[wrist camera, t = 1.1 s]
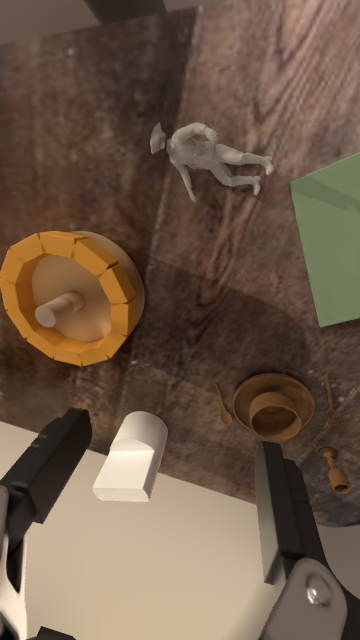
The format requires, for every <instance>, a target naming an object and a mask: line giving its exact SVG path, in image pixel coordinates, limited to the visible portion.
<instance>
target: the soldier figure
mask: <svg viewBox="0 0 360 640" xmlns="http://www.w3.org/2000/svg"><path fill="white" fill-rule="evenodd" d="M195 134H199V135H206V136H207V138H208V140H209V141H202V140H197V139H196V140H195V139H193V138H192V136H194V135H195ZM215 134H216V135H217V136H219V135H218V134H217V133H216V132H215V131H214V130H213V129H211V128H210V126H208V125H204V124H201V123H193V124H190V125H188V126H186V127H183V128H181V129H178V130H177V131H175V133H174V135H173V137H172V139H169V140H166V141H167V147H166V150H167V153H168V154H169V155H170V162H172V164H173V165H174V166H175V167H176V168H177V169H178V170H179V172H180V173H181V175H182V178H183V180H184V182H185V185H186V188H187V190H188V192H189V195H190V197H191V199H192V200H193V201H194V202H197V200H196V199H197V197H196V196H195V195H194V194H193V191H192V183H191V178H190V175H189V172H188V169H187V167H186V165H189V167H190V168H192V169H197V168H200V169H201V168H202V169H210V170H211V171H212V173H213V174H214V175H215V177H216V178H217V179H218V180H219V181H220V182H221V183H222V184H223V185H226V186H227V185H228V186H231V187H235V186H239V185H246V184H252V186H253V188H254V194H255V195H257V194H258V193H259V191H260V185H259V181H260V176H253V177H251V176H237V175H236V176H232V173H231V172H230V170H229V168H228V167H227V166H226V165H225V163H228V164H232V165H244V164H245V163H246V164H261V165H263V167H264V168H265V170H266V174H267V175H268V176H269V175H270V174H271V172H272V170H273V166H272V165H271V161H272V157H269V156H266V157H262V156H258V155H254V154H251V153H245V154H243V152H241V151H238V150H235V149H233V148H230V147H228V146H225V145H222V144H216V142H215V141H217V140H216V139H218V137H217V136H216V135H215ZM166 135H167V134H165V133H163V132H162V130H161V126H160V122H159V123H158V124H157V125H156V127H155V128H154V130H153V132H152V135H151V141H150V144H151V152H152V154H154V153H155V152H158V151H159V150H160V149H164V147H165V143H166V142H165V136H166ZM213 136H214V137H215V138H216V139H215V138H214V137H213ZM167 137H168V136H167ZM167 137H166V138H167ZM211 137H212V138H213V139H214V140H215V141H214V140H213V139H212V138H211ZM164 142H165V143H164ZM194 197H195V198H196V199H195V198H194ZM195 200H196V201H195Z"/></svg>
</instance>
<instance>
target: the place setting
mask: <svg viewBox="0 0 360 640" xmlns="http://www.w3.org/2000/svg"><path fill="white" fill-rule="evenodd" d="M325 383H326V390H327V397H328V403H329V409H328V410H327V417H328V422H329V425H330V421H329V416H328V412H329V414H330V418H331V423H332V426H333V422H332V417H331V412H332V415H333V419H334V424H335V426H336V423H335V418H334V413H333V412H335V416H336V420H337V424H338V419H337V414H336V411H335V410H334V409H333V405H332V398H331V390H330V383H329V378H328V374H327V373H325ZM215 388H216V392H217V395H218V398H219V401H220V404H221V407H222V412H221V420H222V422H223V423H224V424H225V425H227V426H230V425H231V424H232V416H231V414H230V413H229V412H228V411H227V410H226V409H225V407H224V404H223V400H222V396H221V392H220V389H219V387H218V385H217V384H215ZM232 408H233V412H234V415H235V417H236V418H237V420H238V421H239V422H240V423H241V424H242V425H243V426H244V427H246V428H247V429H249V430H251V431H253V432H255V433H256V434H257V435H258V436H260V437H262V438H264V439H267V440H271V441H284V440H288V439H290V438H292V437H294V436H296V435H297V434H298V433H299V431H300V430H301V429H302V428H303V427H304V426H306V425H307V424H308V423H309V421H310V420H311V419H312V417H313V414H314V411H315V403H314V399H313V397H312V395H311V393H310V391H309V390H308V389H307V388H306V386H305V385H303V384H302V383H301V382H300V381H298V380H296V379H295V378H292V377H290V376H287V375H284V374H278V373H264V374H259V375H256V376H253V377H251V378H249V379H247V380H245V381H244V382H243V383H242V384H241V385H240V386H239V387H238V388H237V390H236V391H235V393H234V396H233V401H232ZM338 426H339V425H338ZM319 456H320V457H321V458H323V459H327V461H328V464H329V465H330V466H331V470H330V471H329V479H330V482H331V485H332V488H333V490H334V491H335V492H336V493H338V494H348V493H350V492H351V490H352V488H351V485H350V483H349V481H348V479H347V477H346V475H345V474H344V472H343V471H342V470H340V469H337V467H336V466H335V461H334V458H335V457H336V456H337V451H336V450H335V449H334V448H331V447H324V448H322V449H320V450H319Z"/></svg>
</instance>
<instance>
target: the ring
mask: <svg viewBox="0 0 360 640" xmlns="http://www.w3.org/2000/svg"><path fill="white" fill-rule="evenodd" d="M50 254H53V255H58V256H64V257H69V258H73V259H74V260H75V261H77V262H78V263H79V264H81V265H82V266H83V267H84V268H86V269H87V270H88V271H90V272H91V273H92V274H93V275H95V276H96V277H97V278H98V280H99V282H100V284H101V286H102V287H103V289H104V291H105V293H106V295H107V297H108V299H109V301H110V303H111V330H110V331H109V333H108V334H107V335H106V337H105V338H102V339H99V340H96V341H93V342H84V341H80V340H75V339H71V338H67V337H66V336H64V335H63V334H61V333H60V332H59V331H57V330H56V329H55V328H53V327H44V326H42V325H41V324H40V323H39V322H38V321H37V319H36V317H35V311H36V309H37V308H38V307H37V306H36V304H35V302H34V297H33V290H32V283H31V278H32V276H33V274H34V271H35V269H36V267H37V265H38V262H39V260H40V259H42V258H44V257H46V256H48V255H50ZM118 261H119V260H118V259H116V258H115V257H114V256H113V255H111V254H110V253H109V252H108V251H106V250H105V249H104V248H103V247H101V246H100V245H99V244H98V243H97V242H95V241H94V240H93V239H92V238H88V237H87V236H83V235H77V234H71V233H65V232H60V231H50V232H41V233H35V234H34V235H32V236H30V237H28V238H26V239H24V240H22V241H21V242H19V243H17V244H15V245H13V246H11V249H9V250H8V252H7V255H6V258H5V261H4V263H3V266H2V269H1V272H0V277H1V278H0V287H1V292H2V296H3V301H4V306H5V309H8V310H9V311H7V314H8V315H9V317H10V318H11V320H12V321H13V323H14V324H15V325H16V327H17V328H18V330H19V331H20V333H21V334H22V336H23V337H24V338H27V337H28V339H27V341H28V342H29V343H31V344H32V345H34V346H35V347H36V348H38V349H39V350H41V351H42V352H44V353H45V354H46V355H48V356H49V357H51V358H53V357H54V360H58V361H63V362H67V363H71V364H75V365H79V366H82V365H84V366H86V365H89V364H93V363H97V362H100V361H104V360H108V359H109V358H111V357H112V356H113V355H114V353H115V352H116V351H117V350H118V348H119V347H120V346H121V345H122V343H123V342H124V341H125V340H126V338H127V337H128V336H129V335H130V333H131V332H132V331H133V329H134V327H135V318H136V301H137V297H133V296H135V295H136V293H135V291H134V289H133V287H132V285H131V283H130V281H129V279H128V277H127V275H126V272H125V270H124V268H123V266H122V264H118V265H117V263H118Z"/></svg>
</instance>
